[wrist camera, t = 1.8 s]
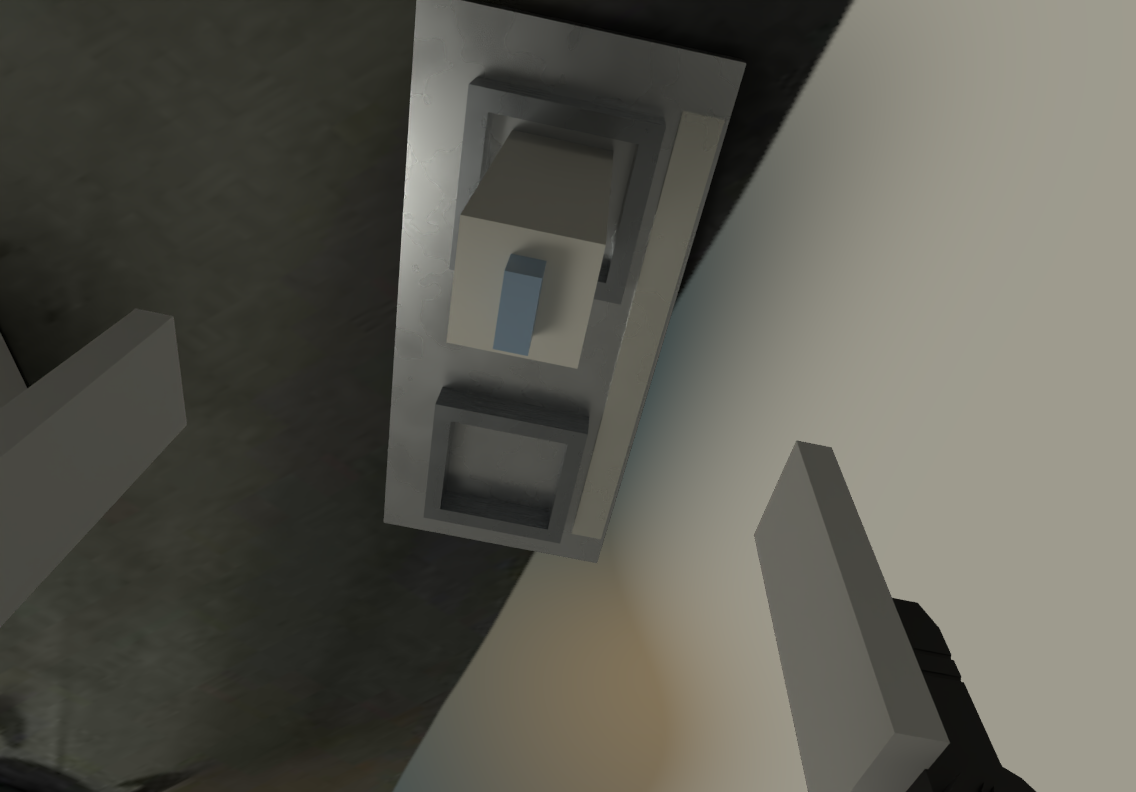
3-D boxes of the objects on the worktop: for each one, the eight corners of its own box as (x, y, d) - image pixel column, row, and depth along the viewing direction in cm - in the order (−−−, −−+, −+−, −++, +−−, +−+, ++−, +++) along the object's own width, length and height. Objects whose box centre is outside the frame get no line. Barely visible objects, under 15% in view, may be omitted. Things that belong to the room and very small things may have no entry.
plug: (512, 129, 28) (450, 230, 18) (613, 151, 28) (604, 262, 18) (498, 228, 30) (437, 362, 20) (592, 247, 30) (574, 390, 21)
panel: (423, -12, 26) (406, -7, 24) (743, 59, 27) (752, 69, 25) (388, 510, 40) (375, 541, 38) (597, 550, 41) (595, 583, 39)
